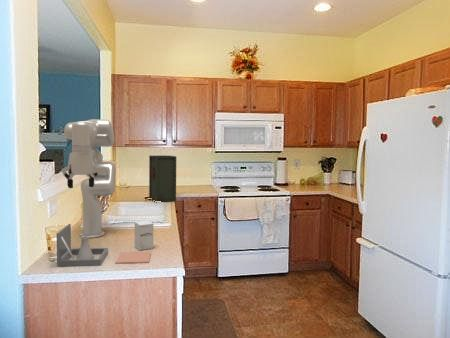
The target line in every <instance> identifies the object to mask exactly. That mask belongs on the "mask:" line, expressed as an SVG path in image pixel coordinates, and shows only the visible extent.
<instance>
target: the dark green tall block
mask: <svg viewBox="0 0 450 338" xmlns="http://www.w3.org/2000/svg"><path fill="white" fill-rule="evenodd" d="M148 157H149V159H148V160H149V162H148V166H149V167H148V169H149V170H148V171H149V173H148V174H149V177H148V178H149V182H148V185H149V186H148V189H149V191H148V193H149V194H148V195H149V197H148V199H149V198H152V199H154V200H155V201H161V202H163V203H174V202H176V203H177V156H176V155H148ZM149 201H151V199H150V200H149ZM155 201H154V202H153V200H152V201H151V202H153V203H155ZM155 204H158V203H157V202H156V203H155Z"/></svg>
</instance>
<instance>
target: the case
mask: <svg viewBox="0 0 450 338" xmlns="http://www.w3.org/2000/svg"><path fill="white" fill-rule="evenodd" d="M71 227H72V225H71V223H68V224H67V225H65V226H64V227H63V228H62V229H61V230H59V231H57V232H56V267H57V268H59V267H61V268H63V267H87V266H88V267H91V266H92V267H93V266H94V267H95V266H101V265H102V264H103V262H104V260H105V258H107V256H108V254H109V247H90V249H91V251H92V254H93V255H100V256H99V257H97V258H93V259H78V260H76V258H75V255H76V256H78V253H79V250H80V248H72V236H71V235H72V233H71V231H72V230H71V229H72V228H71ZM71 258H72V259H71Z"/></svg>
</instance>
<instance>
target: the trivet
mask: <svg viewBox="0 0 450 338" xmlns="http://www.w3.org/2000/svg"><path fill="white" fill-rule="evenodd" d="M151 254H152V251H150V250H149V251H120V252H119V254H118V256H117V258H116V260H115V265H124V264H125V265H127V264H129V265H130V264H149V263H150V259H151Z"/></svg>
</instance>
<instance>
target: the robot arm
mask: <svg viewBox="0 0 450 338" xmlns="http://www.w3.org/2000/svg"><path fill="white" fill-rule="evenodd" d="M63 129H64V130H63V134H64V136H65V138H66V139H67V140H71V152H69V156H68V160H67V161H68V163H67V164H68V165H67V166H66V167H63V168H62V169H60V170H61V173H62V175H63V176H64V177H65V178H66V180H67V188H68V189H73V188H74V180H73V177H74V176H80V175H81V176H84V175H85V176H86V177H87V178H85V179H83V180H82V181H81V182H80V191H81V196H82V228H83V229H82V232H81V233H80V234H79V236H80V238H81V237H84V236H88V237H89V238H88V239H93V238H94V239H95V238H100V237H103V236H105V231H104V230H102V227H103V225H102V223H103V222H102V221H103V220H102V202H101V200H100V198H98V197H100V196H103V197H105V196H113V195H114V194H115V189H116V171H117V170H116V166H115V164H114V162H112V161H103V159H104V156H103V153H102V152H101V151H100V150H99V149H98V148H97V147H100V148H101V147H103V148H106V147H113V146H114V144H115V135H114V133H115V132H114V128H113V124H112V122H111V121H110V120H109V119H99V118H98V119H97V118H96V119H93V118H92V119H87V120H83V121H82V120H80V121H74V122H67V124H66V125H65V126H64V128H63Z"/></svg>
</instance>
